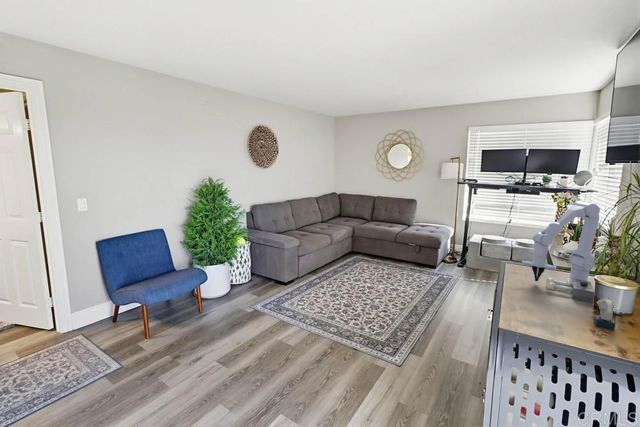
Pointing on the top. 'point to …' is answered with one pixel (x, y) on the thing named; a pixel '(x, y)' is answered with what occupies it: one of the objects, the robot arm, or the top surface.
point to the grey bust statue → (605, 315)
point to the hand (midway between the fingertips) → (536, 280)
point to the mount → (582, 290)
